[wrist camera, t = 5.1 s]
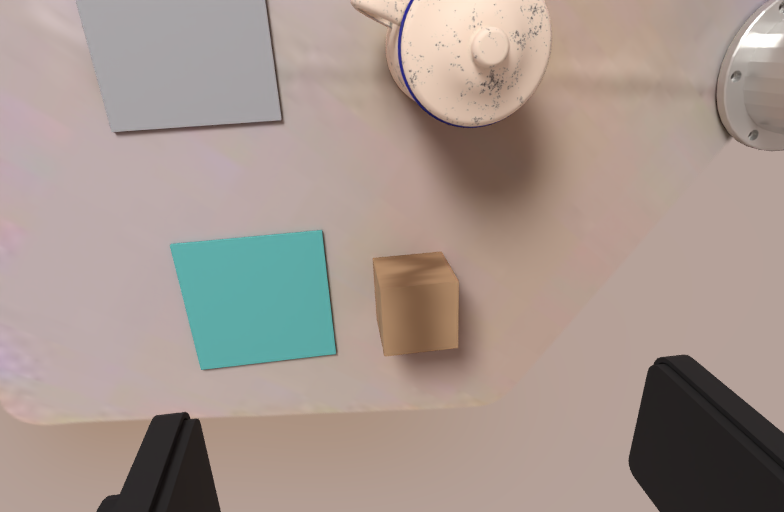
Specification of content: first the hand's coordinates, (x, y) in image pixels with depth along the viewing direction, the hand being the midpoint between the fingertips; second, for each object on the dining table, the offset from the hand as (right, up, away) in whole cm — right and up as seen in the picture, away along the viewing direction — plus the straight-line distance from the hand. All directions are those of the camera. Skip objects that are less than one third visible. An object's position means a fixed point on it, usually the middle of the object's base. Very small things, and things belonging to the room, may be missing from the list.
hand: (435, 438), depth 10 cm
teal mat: (-12, 0, +32) cm, 34 cm away
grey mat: (-15, +19, +24) cm, 34 cm away
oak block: (+1, +1, +34) cm, 34 cm away
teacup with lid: (+2, +20, +26) cm, 32 cm away
